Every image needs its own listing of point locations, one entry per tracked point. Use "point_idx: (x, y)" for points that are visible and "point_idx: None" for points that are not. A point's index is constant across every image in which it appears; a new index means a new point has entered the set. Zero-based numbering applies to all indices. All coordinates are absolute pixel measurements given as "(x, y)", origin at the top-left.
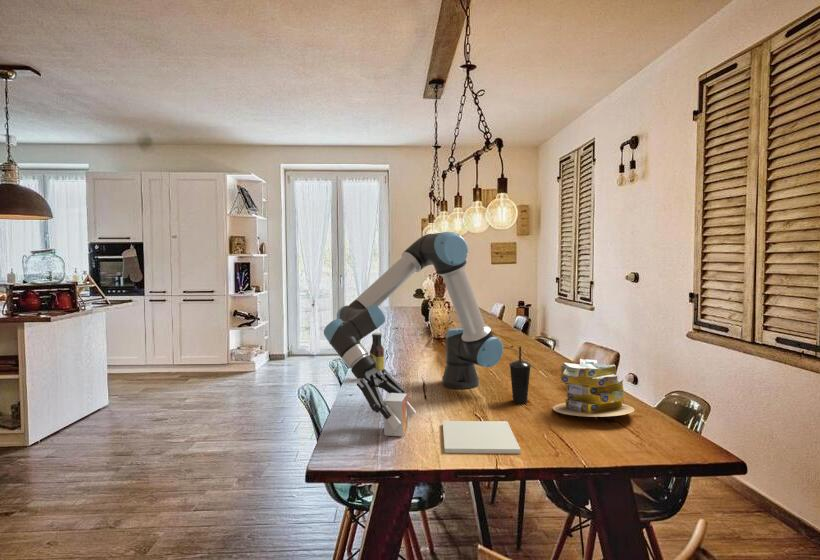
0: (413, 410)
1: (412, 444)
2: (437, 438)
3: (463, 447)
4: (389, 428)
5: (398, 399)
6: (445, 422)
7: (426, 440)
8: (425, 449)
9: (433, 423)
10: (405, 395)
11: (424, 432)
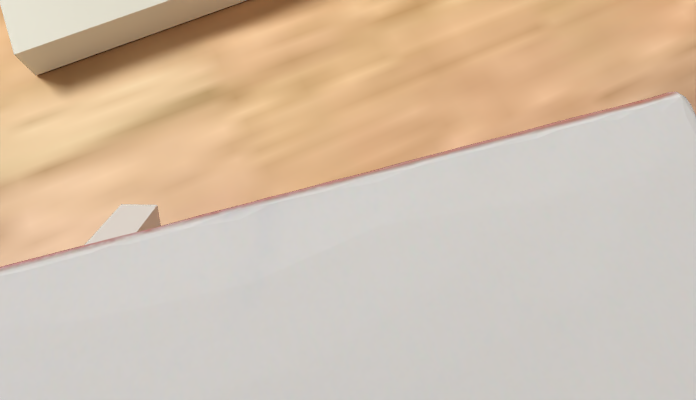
0: (137, 226)
1: None
2: (341, 11)
3: None
4: None
5: (603, 255)
6: (47, 20)
7: (418, 67)
8: (573, 12)
9: (20, 161)
10: (125, 246)
11: (265, 147)
